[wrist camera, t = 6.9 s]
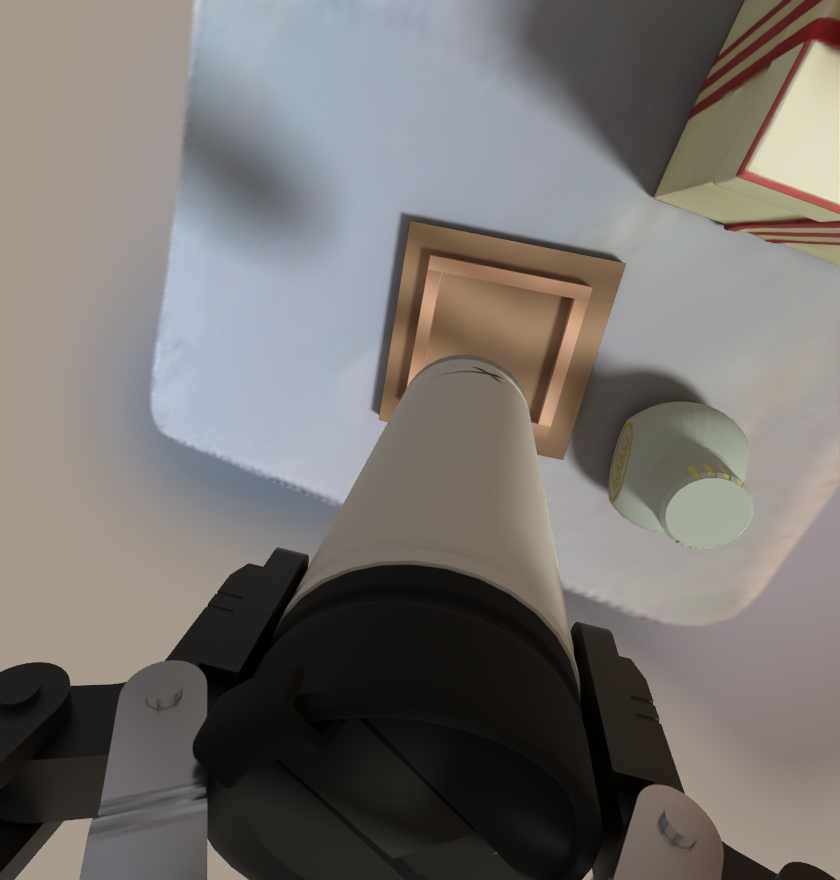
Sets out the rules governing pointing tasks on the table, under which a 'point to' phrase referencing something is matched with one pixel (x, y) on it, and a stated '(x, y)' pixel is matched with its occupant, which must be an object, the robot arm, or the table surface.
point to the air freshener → (683, 474)
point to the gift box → (768, 130)
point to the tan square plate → (503, 319)
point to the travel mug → (418, 671)
